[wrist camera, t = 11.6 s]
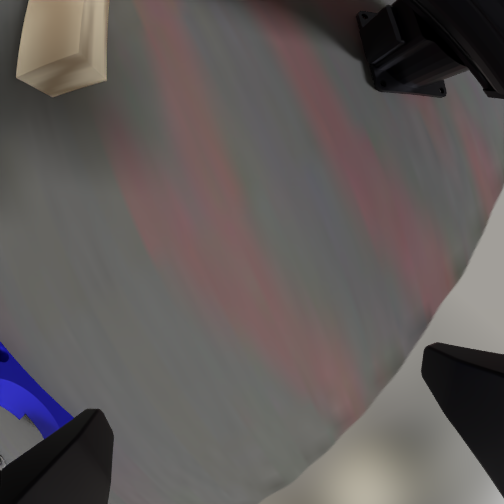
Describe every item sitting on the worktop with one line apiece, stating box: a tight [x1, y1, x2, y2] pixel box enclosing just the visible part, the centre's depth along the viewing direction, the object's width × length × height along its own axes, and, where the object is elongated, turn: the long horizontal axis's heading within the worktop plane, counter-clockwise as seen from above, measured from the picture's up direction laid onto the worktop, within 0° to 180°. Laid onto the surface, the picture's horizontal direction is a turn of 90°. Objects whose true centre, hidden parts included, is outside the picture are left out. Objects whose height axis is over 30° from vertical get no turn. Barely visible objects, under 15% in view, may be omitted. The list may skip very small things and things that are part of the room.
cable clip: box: [0, 342, 74, 439], centre depth 16 cm, size 12×4×6 cm, turn 39°
